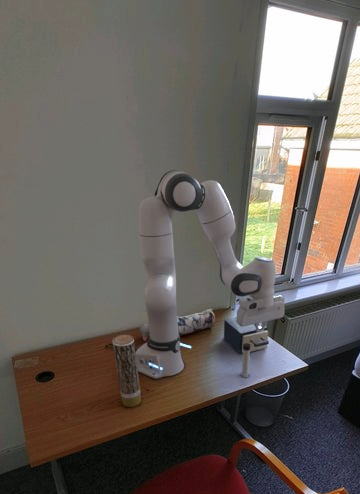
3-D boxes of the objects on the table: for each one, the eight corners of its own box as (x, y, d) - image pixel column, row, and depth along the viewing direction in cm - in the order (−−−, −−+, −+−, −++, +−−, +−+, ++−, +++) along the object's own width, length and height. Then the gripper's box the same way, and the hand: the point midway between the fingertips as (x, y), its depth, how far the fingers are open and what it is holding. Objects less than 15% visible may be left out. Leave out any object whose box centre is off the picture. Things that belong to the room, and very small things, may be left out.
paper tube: (143, 396, 129) (135, 334, 116) (139, 408, 123) (131, 345, 110) (124, 395, 129) (115, 334, 117) (120, 407, 123) (109, 344, 111)
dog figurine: (168, 339, 165) (167, 318, 160) (140, 341, 165) (138, 320, 160) (168, 334, 170) (166, 313, 164) (141, 335, 170) (139, 315, 164)
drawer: (273, 353, 149) (275, 336, 145) (249, 359, 146) (250, 342, 142) (250, 334, 164) (251, 318, 160) (228, 339, 161) (228, 323, 157)
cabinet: (265, 347, 155) (267, 327, 150) (239, 353, 151) (240, 333, 146) (248, 333, 167) (249, 314, 162) (223, 338, 163) (224, 319, 158)
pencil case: (176, 340, 164) (175, 321, 159) (168, 333, 171) (167, 314, 166) (216, 329, 172) (217, 310, 167) (207, 322, 179) (207, 304, 174)
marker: (240, 376, 137) (242, 345, 130) (242, 373, 139) (244, 342, 132) (247, 378, 136) (249, 347, 129) (249, 374, 138) (251, 344, 131)
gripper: (280, 292, 143) (277, 323, 150) (234, 301, 138) (234, 333, 145) (289, 297, 138) (286, 329, 145) (243, 307, 132) (241, 339, 139)
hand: (259, 331), depth 145 cm, fingers closed
